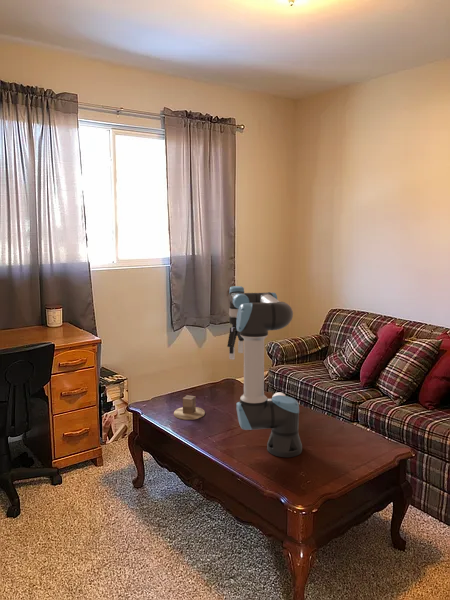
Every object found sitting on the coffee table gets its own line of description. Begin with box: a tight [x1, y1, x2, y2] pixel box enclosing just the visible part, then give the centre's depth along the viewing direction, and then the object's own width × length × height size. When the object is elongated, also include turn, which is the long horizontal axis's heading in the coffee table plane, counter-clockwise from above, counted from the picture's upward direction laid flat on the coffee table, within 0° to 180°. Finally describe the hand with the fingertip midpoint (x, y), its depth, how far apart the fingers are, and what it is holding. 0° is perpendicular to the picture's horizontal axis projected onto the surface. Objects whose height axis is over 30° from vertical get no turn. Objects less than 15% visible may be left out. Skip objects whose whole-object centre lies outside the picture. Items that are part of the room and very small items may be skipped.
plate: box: [173, 406, 206, 421], centre depth 254 cm, size 16×16×1 cm
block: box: [182, 394, 197, 415], centre depth 253 cm, size 5×5×8 cm
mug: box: [267, 392, 287, 401], centre depth 259 cm, size 12×10×8 cm
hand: (236, 356), depth 257 cm, fingers open, 13 cm apart
